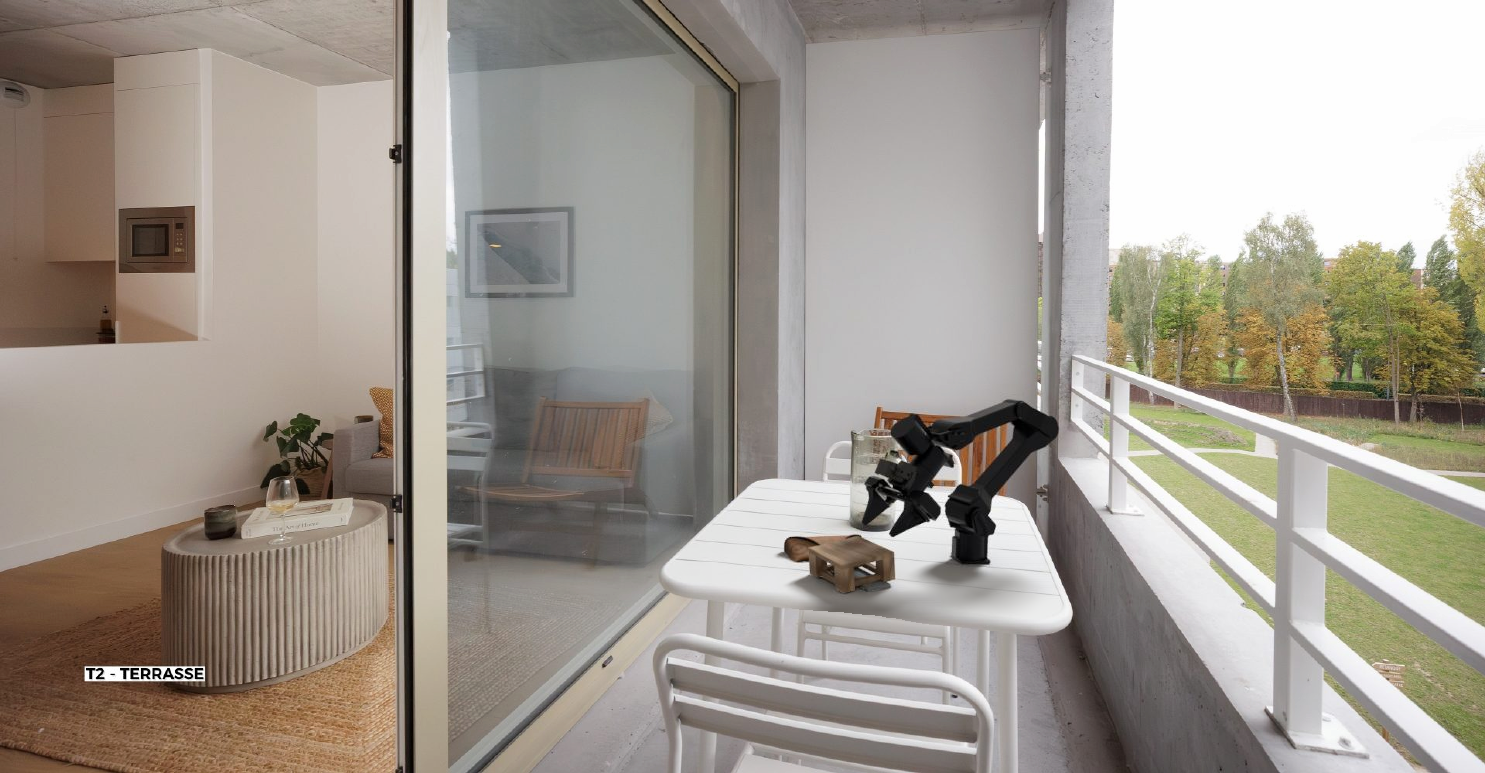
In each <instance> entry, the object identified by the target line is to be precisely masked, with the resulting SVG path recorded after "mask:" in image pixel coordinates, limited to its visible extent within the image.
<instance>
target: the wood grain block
mask: <svg viewBox="0 0 1485 773" xmlns="http://www.w3.org/2000/svg"><path fill="white" fill-rule="evenodd" d="M808 551H809V561H808V563H809V564H808V565H809V575H810V574H811V575H810V576H812V577H814V578H815V577H816V579H818V577H819V578H824V579H825V580H827V581H829V582H830V583H832V584H834V587H835V588H836V589H838V590H839V591H838V590H837V591H838V592H840V591H841V592H843V593H842V594H845V593H844V592H847V593H850V591H851V592H854V591H855V590H856V589H855V588H856V587H859V585H863V584H866V583H870V582H874V581H878V580H881V581H883V582H888V583H889V582H891V581H894V580H896V569H895V568H896V564H895V560H896V559H895V551H894V550H891V549H888V548H886V547H884V546H882V545H879V544H878V543H876V542H873V541H870V540H868V539H866V538H864V537H860V536H856V537H852V538H848V539H843V540H839V541H835V542H831V543H826V544H822V545H818V546H814V547H809V548H808ZM873 563H875V564H873ZM854 567H855V568H858V567H859V568H861V567H862V569H863V568H864V569H865V570H867V571H870V572H872V573H871V574H872V575H868V576H865V577H861V578H857V579H854ZM833 570H835V573H834V574H833V573H831V572H832V571H833ZM836 589H835V590H836ZM841 592H840V593H841Z"/></svg>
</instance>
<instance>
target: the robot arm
mask: <svg viewBox="0 0 1485 773" xmlns="http://www.w3.org/2000/svg"><path fill="white" fill-rule="evenodd" d="M1058 423H1059V422H1058V421H1057V419H1056V418H1055V417H1054V416H1052V415H1047V414H1046V413H1044V412H1042V411H1040V410H1038V409H1036V408H1034V407H1032V406H1031V405H1030V404H1028V403H1027V402H1025V401H1024V400H1020V399H1013V398H1008V399H1005V400H1003V401H1002V402H1000V403H997V404H994V405H992V406H989V407H986V408H983V409H981V410H979V411H975V412H973V413H971V414H969V415H966V416H957V417H956V416H955V417H954V416H953V417H944V418H939V419H936V420H934V421H933V422H932V423H931V424H930V425H926V424H925V423H924V422H923V419H922V418H921V417H920V415H919V414H917V413H911V412H910V414H909V415H908V416H906V417H903V418H902V419H900V420H898V422H895V423H894V424H893V425H892V427H891V429H890V436H891V437H892V439H893V440H894V441H895V442H896V443H897V444H898V446H900V448H901V450H903V451H904V452H905V454H906V455H908V456H909V457H910V456H912V458H911V460H910V461H909V462H907V461H905V460H904V461H903V460H900V461H899V462H897V463H896V462H894V461H891V460H887V459H883V458H879V460H878V463H877V465H876V468H875V469H874V474H875V475H876V476H875V475H871V476H868V478H866V480H865V481H864V482H863V485H864V486H865V490H866V492H868V501H867V504H866V507H865V510H864V514H863V517H862V520H861V524H862V525H863V526H868V524H870V523H872V522H873V521H874V520H875V519H876V518H878V517H879V516H880V515H881V514H883V512H885V511H886V510H888V509H889V508H890V507H891V506H890V504H891V503H894V501H895V500H897V501H900V502H903V510H902V512H901V513H900V515H899V516H898V517H897V519H896V521H895V522H894V523H893V525H892V527H891V529H890V531H889V533H888V535H889V536H890V537H891V538H895V537H896V536H898V535H900V534H902V533H904V532H905V533H906V532H907V531H909V530H910V529H912V528H915V527H917V526H919V525H922V524H924V523H930V522H931V521H933V522H936V521H937V520H938V518H939V517H940V516H941V514H942V511H941V510H942V507H941V505H940V504H938V502H937V501H936V500H935V499H934V498H933V497H932V495H931V494H930V493H929V492H925V491H926V489H927V488H928V489H933V488H934V486H935V484H934V482H933V480H934V479H935V477H936V476H937V475H938V473H939V472H940V471H941V469H942V468H943V467H947V468H950V469H954V467H955V463H954V462H955V461H954V459H953V456H954V455H953V454H951V453H948V452H946V451H945V449H950V450H953V451H961V450H963V449H964V448H966V447H967V446H969V445H971V444H972V443H973V442H974V441H975V439H976V438H977V437H978V436H979V435H981V434H984V433H987V432H989V431H992V430H994V429H997V428H999V427H1002V426H1005V425H1006V424H1010V425H1011V426H1013V429H1012V437H1011V440H1010V441H1009V442H1008V443H1007V444H1006V446H1005V447H1004V448H1003V449H1001V452H1000V453H999V454H998V455H997V456H996V457H995V458H994V460H992V462H991V463H990V464H989V465H988V466H987V467H986V469H985V470H984V471H983V472H982V473H981V474H980V476H979V477H978V478H977V479H976V480H975V481H974V482H973V483H972V484H971V485H966V484H964V483H963V484H962V483H959V484H958V485H957V486H956V487H955V488H954V490H953V491H952V492H951V493H950V494H948V495H947V497H948V499H947V500H946V502H945V504H944V512H945V517H946V519H947V522H948V525H949V527H950V528H952V529H954V535H952V537H951V553H950V556H952V557H953V558H955V560H956V561H958V562H959V563H960V564H991V559H989V558H988V554H989V552H988V550H989V549H988V548H989V547H988V546H989V537H990V536H992V535H994V534H995V531H996V528H997V524H996V523H995V521H993V519H992V518H991V517H990V516H989V515H990V513H991V510H992V503H993V499H994V497H995V496H996V495H997V494H998V492H999V491H1001V490H1002V488H1003V487H1004V486H1005V484H1006V483H1007V482H1008V481H1009V480H1010V479H1011V477H1013V475H1014V474H1015V473H1016V472H1017V471H1018V469H1020V467H1021V465H1023V463H1024V462H1025V461H1026V460H1027V459H1028V458H1029V457H1030V455H1031V454H1033V453H1034V452H1035V453H1036V452H1037V451H1040V450H1042V449H1044V448H1046V447H1047V446H1049V444H1051V443H1052V442H1053V441H1054V440H1056V438H1057V436H1058V435H1059V431H1060V426H1059V424H1058ZM877 475H880V476H882V477H884V478H887V480H885V479H884V478H882V477H879V476H877Z"/></svg>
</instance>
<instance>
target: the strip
mask: <svg viewBox="0 0 1485 773" xmlns="http://www.w3.org/2000/svg"><path fill="white" fill-rule="evenodd" d="M832 573H834V574H835V570H833V572H832ZM872 574H873V573H870V572H868V571H866V570H864V569H863V568H861V567H858V568H855V567H854V579H857V578H861V577H865V576H868V575H872ZM859 586H860V587H859ZM859 586H858V587H859V588H861V587H862V588H861V589H863V588H864V589H866V590H867V592H868V591H869V592H873V591H872V590H875V591H878V590H877V589H880V590H884V589H883V588H886V589H890V588H891V583H889V581H888V582H883V581H881V580H878V581H874V582H870V583H866V584H863V585H859ZM864 589H863V590H864ZM866 590H865V591H866Z"/></svg>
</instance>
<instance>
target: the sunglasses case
mask: <svg viewBox="0 0 1485 773" xmlns="http://www.w3.org/2000/svg"><path fill="white" fill-rule="evenodd" d="M856 536H860V537H862V535H860V534H856V533H854V534H849V535H848V534H847V535H821V536H820V535H817V536H802V535H801V536H798V535H796V536H795V535H794V536H789V537H787V538H786V539H785V540H784V544H783V552H784V553H785V554H786V555H787V556H788V557H789V559H790V560H791V561H792V562H793V563H804V562H803V561H806V562H809V551H808V548H809V547H814V546H818V545H822V544H826V543H831V542H835V541H839V540H843V539H848V538H852V537H856ZM862 538H863V537H862Z"/></svg>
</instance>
